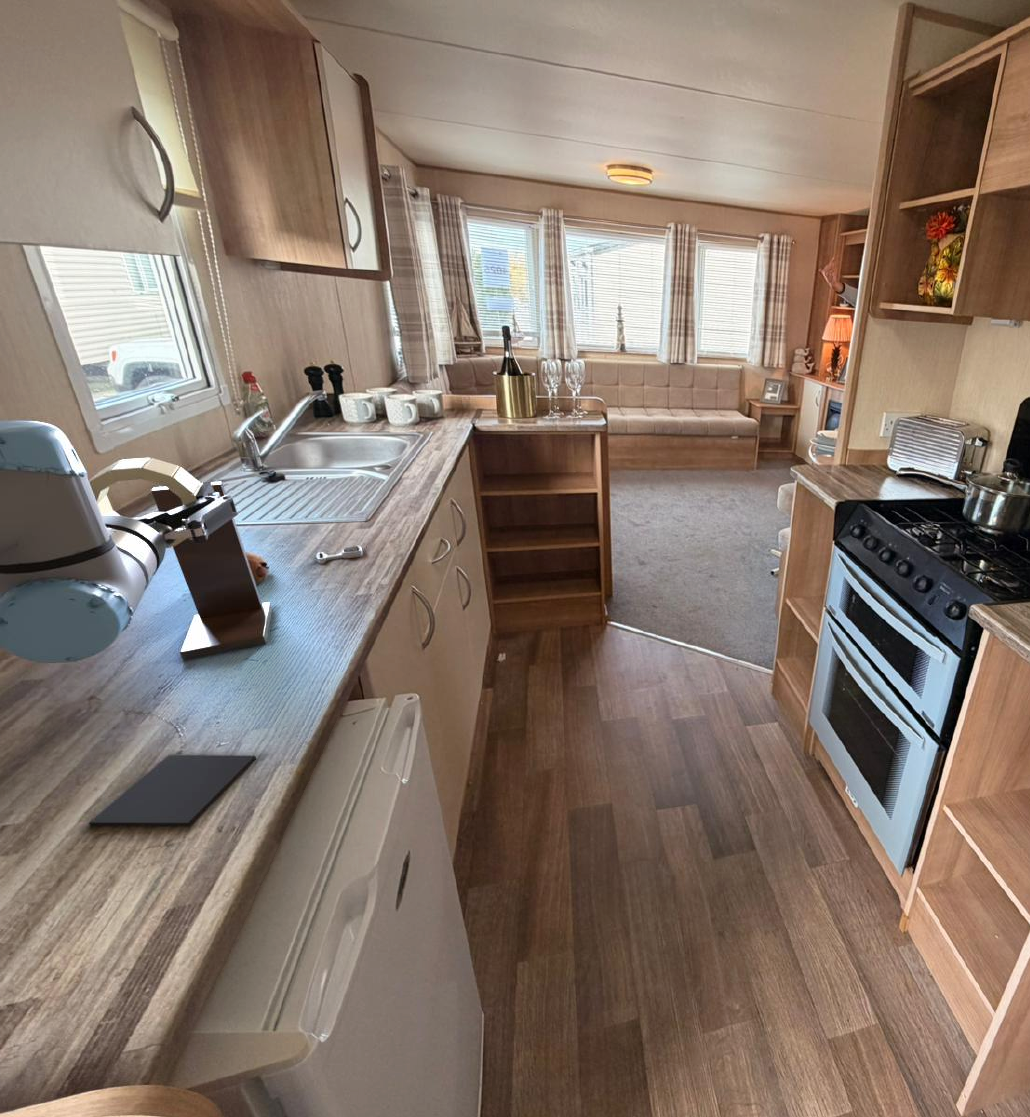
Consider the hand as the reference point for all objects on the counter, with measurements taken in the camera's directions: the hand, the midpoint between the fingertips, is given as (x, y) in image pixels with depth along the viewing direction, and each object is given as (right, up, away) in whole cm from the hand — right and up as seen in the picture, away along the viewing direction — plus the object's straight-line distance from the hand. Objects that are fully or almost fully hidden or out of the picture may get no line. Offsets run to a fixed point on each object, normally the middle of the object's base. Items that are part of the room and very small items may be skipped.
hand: (154, 496), depth 77 cm
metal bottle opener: (-8, -8, +47) cm, 48 cm away
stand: (-7, -20, +19) cm, 29 cm away
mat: (+13, -34, -10) cm, 38 cm away
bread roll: (-19, -13, +35) cm, 42 cm away
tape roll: (+2, -6, -1) cm, 6 cm away
